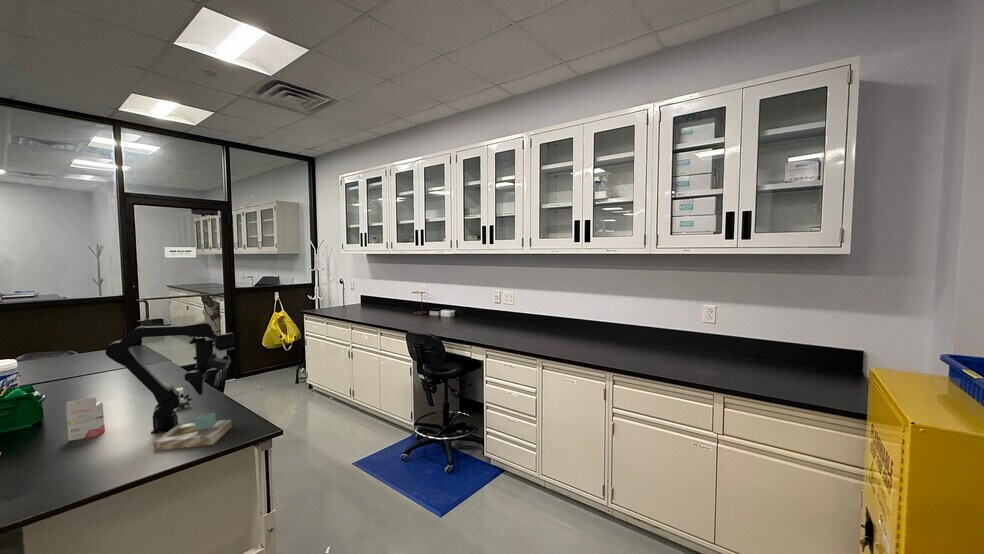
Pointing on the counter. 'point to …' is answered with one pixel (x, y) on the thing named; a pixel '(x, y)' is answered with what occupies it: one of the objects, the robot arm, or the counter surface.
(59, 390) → the counter surface
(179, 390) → the valve
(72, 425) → the ink cartridge box
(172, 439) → the keyhole board
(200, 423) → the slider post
